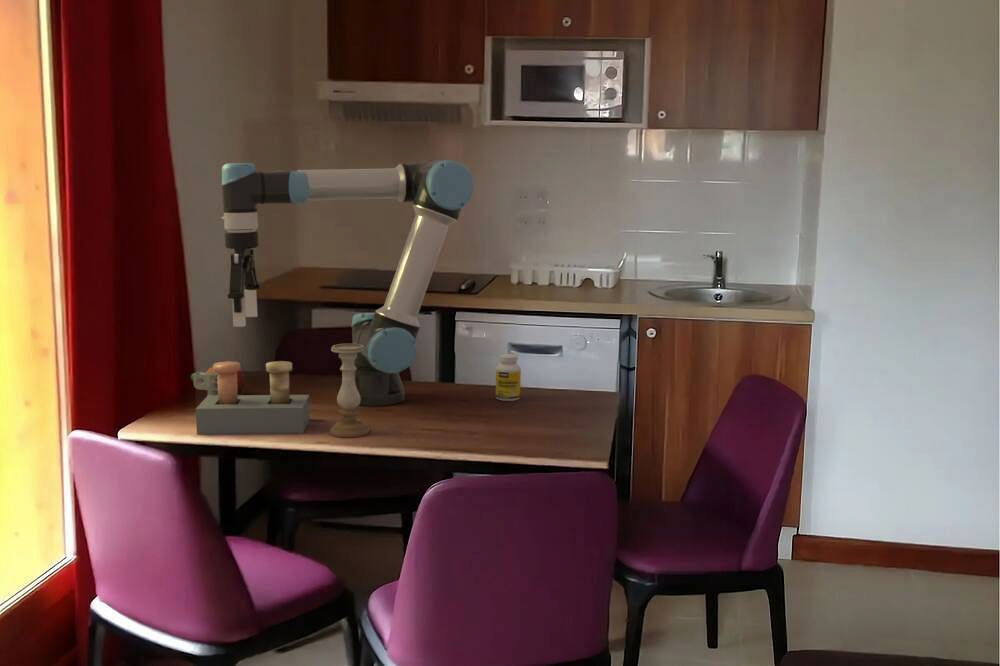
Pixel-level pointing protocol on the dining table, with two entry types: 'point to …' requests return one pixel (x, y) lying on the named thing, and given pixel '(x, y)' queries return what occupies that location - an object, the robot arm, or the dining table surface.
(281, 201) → the robot arm
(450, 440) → the dining table surface
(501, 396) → the pill bottle
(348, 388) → the candle holder
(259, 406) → the socket board
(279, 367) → the beech plug
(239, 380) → the fruit
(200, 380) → the mechanical component
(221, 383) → the terracotta plug
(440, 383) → the dining table surface
